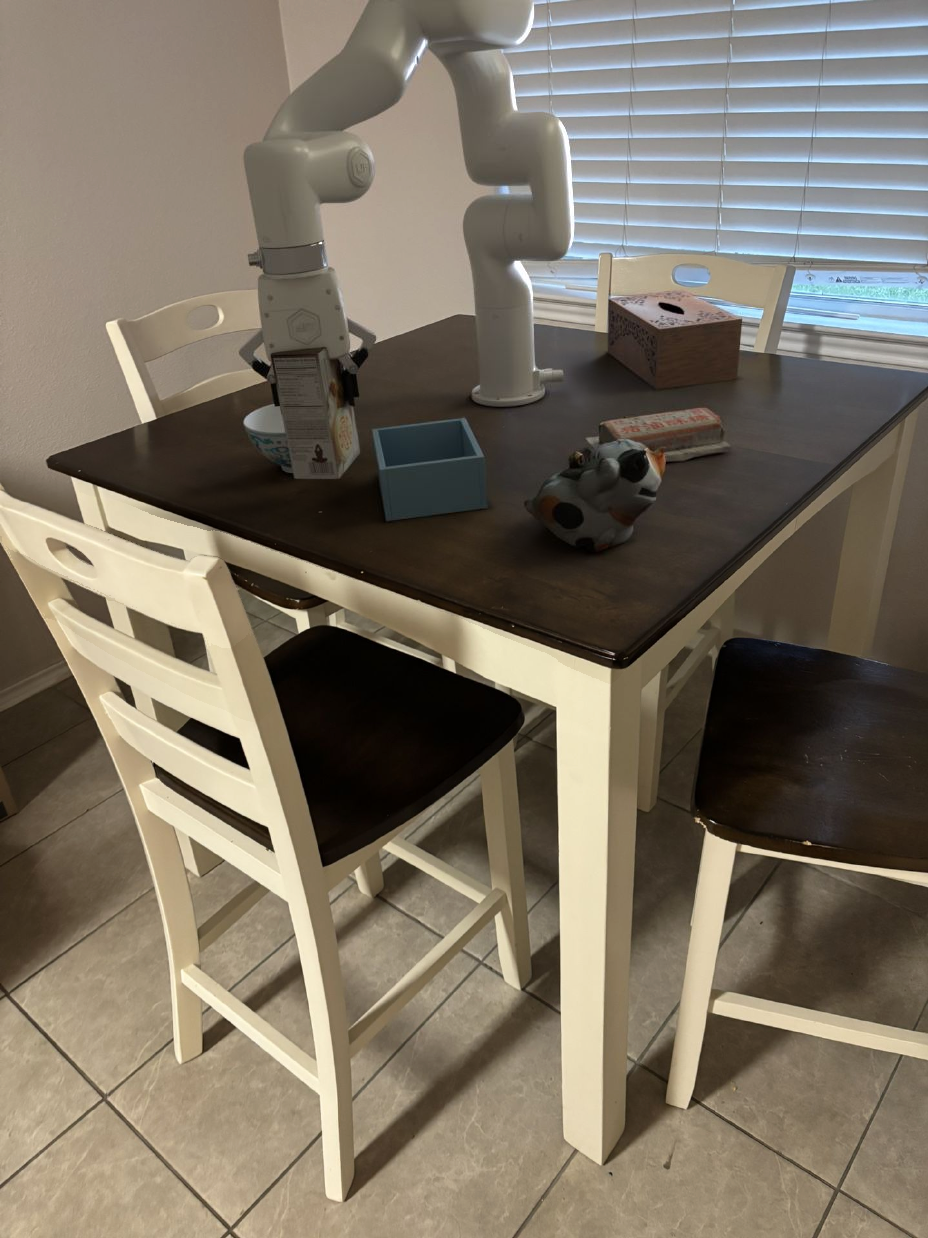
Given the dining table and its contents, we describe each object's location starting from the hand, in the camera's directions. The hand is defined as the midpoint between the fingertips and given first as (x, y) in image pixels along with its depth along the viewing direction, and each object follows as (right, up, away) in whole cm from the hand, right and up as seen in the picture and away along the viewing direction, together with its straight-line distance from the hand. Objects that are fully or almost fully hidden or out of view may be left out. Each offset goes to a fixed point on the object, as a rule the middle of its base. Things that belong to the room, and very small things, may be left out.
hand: (318, 406), depth 113 cm
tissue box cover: (+56, +19, +50) cm, 77 cm away
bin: (+14, -10, +8) cm, 19 cm away
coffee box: (+1, -7, +4) cm, 8 cm away
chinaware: (-5, -4, +20) cm, 21 cm away
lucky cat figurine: (+34, -16, -6) cm, 38 cm away
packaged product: (+46, -3, +14) cm, 48 cm away
